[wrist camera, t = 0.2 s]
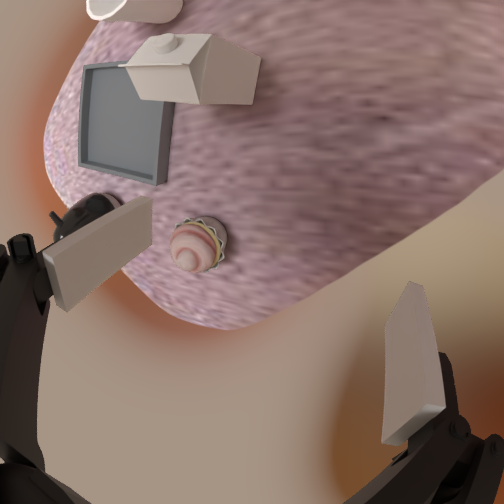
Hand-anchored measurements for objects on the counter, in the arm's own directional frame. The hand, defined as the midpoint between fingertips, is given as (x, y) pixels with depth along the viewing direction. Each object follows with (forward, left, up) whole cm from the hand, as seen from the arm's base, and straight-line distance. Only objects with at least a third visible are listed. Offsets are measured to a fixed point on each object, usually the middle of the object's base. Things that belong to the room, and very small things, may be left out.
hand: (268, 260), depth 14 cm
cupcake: (+16, -15, -28) cm, 36 cm away
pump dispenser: (+18, -37, -28) cm, 50 cm away
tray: (-1, -34, -28) cm, 44 cm away
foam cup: (-21, -29, -28) cm, 45 cm away
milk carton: (-9, -15, -28) cm, 33 cm away
